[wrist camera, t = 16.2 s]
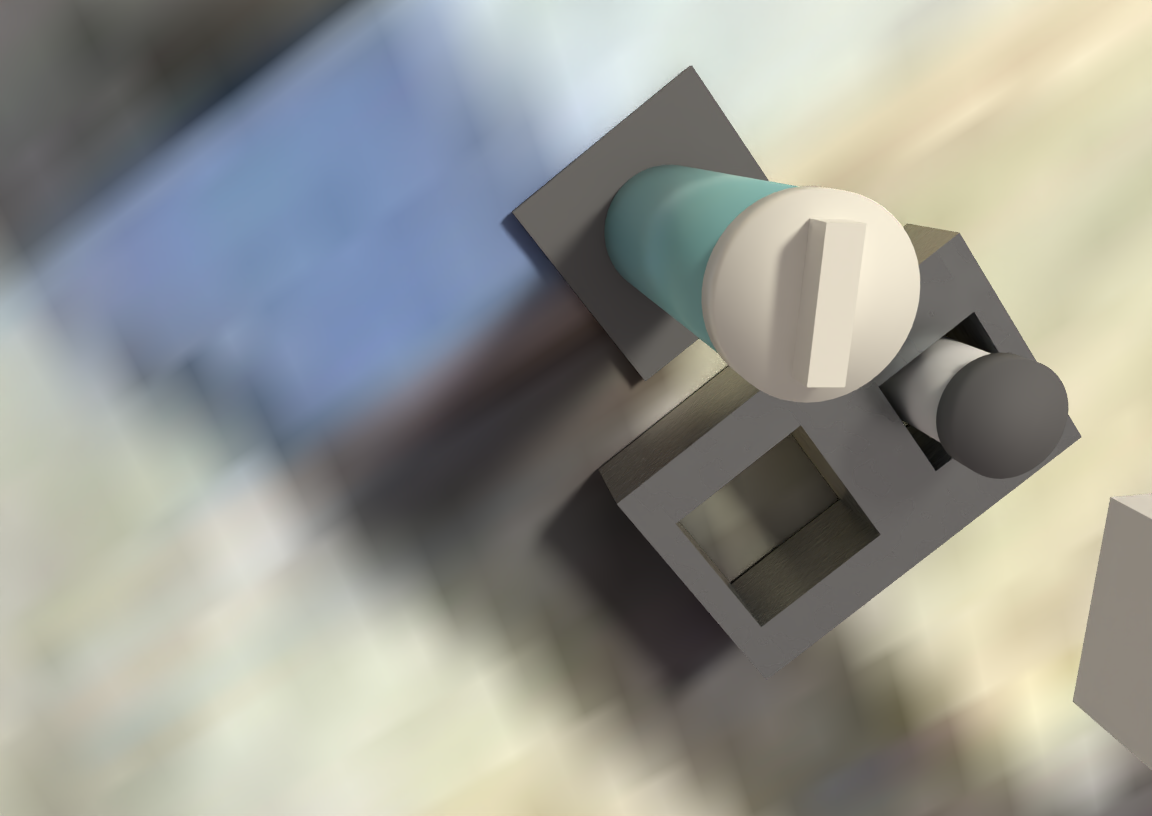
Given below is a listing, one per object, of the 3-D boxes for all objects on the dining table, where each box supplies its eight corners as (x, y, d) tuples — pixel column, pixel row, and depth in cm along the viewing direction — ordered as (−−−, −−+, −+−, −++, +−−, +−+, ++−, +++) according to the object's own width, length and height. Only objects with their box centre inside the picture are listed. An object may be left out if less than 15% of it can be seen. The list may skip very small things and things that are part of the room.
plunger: (844, 367, 40) (931, 413, 33) (928, 300, 40) (1033, 334, 33) (896, 442, 42) (990, 502, 35) (978, 379, 41) (1088, 426, 35)
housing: (736, 633, 44) (766, 680, 40) (598, 469, 40) (616, 504, 36) (1023, 410, 43) (1081, 436, 39) (907, 223, 39) (959, 232, 36)
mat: (511, 211, 37) (512, 212, 36) (689, 66, 36) (691, 65, 36) (643, 378, 39) (645, 381, 39) (809, 246, 39) (812, 247, 39)
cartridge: (598, 295, 38) (718, 414, 22) (605, 159, 36) (738, 188, 21) (725, 297, 39) (923, 413, 23) (737, 164, 37) (957, 195, 22)
